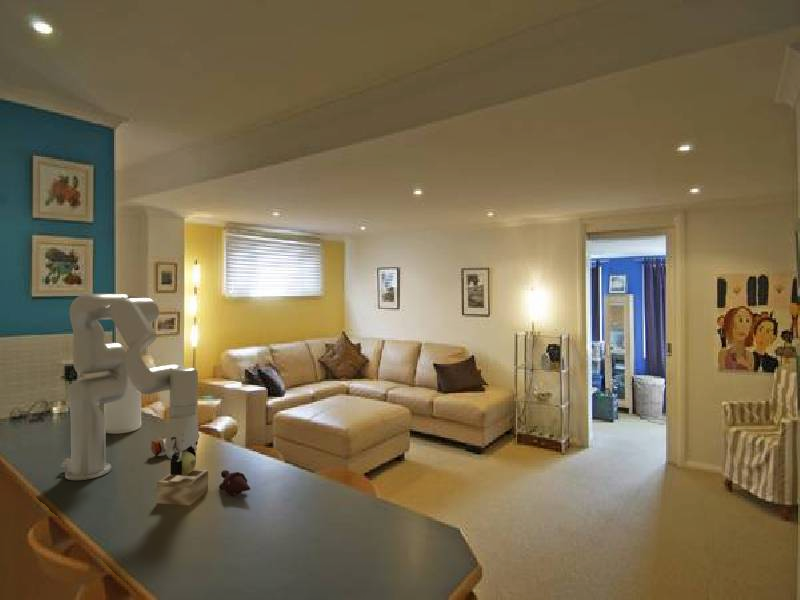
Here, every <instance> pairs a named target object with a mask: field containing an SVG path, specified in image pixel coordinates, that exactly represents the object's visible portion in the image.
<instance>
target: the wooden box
mask: <svg viewBox="0 0 800 600" xmlns="http://www.w3.org/2000/svg"><path fill="white" fill-rule="evenodd" d="M156 484H157V485H156V503H157V504H161V505H162V504H163V505H164V504H165V505H178V506H179V505H180V506H181V505H182V506H191V505H192V504H194V503H195V502H196V501H197V500H198V499H200V498H201V497H202V496H203V495H204V494H205V493H206V492H207V491H209V470H208V469H195V468H194V469H193V470H192V472H190V473H189V474H187V475H183V476H180V475H171V473H168V474H167V475H165V476H164V477H162V478H160V479H159V480H157V482H156Z"/></svg>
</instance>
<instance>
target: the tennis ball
mask: <svg viewBox="0 0 800 600" xmlns="http://www.w3.org/2000/svg"><path fill="white" fill-rule="evenodd" d="M176 455H177V457H178V454H176ZM180 461H182V474H181V475H180V476H183V475H187V474H189V473H190V472H192V470H193V469H195V468H196V464H197V457H196V458H195V456H194V455H193V454H191V453H190V452H185V451H183V452H182V456H181V460H180Z"/></svg>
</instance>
